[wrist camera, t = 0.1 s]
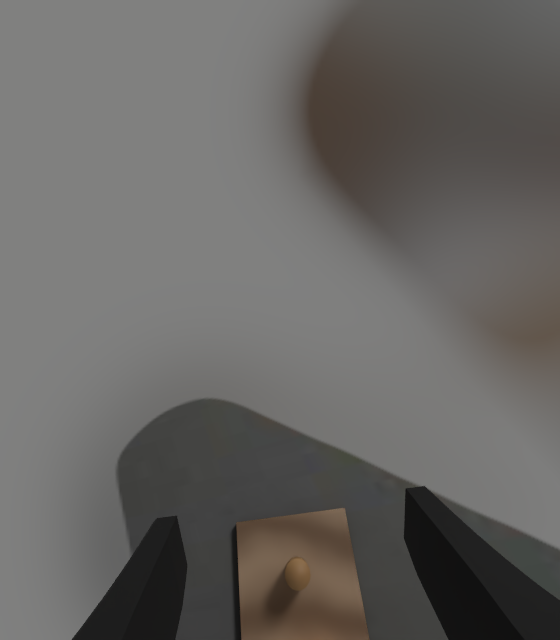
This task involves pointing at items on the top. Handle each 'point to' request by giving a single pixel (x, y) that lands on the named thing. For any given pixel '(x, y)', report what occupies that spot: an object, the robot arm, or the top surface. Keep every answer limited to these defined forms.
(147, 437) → the top surface
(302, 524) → the post board
